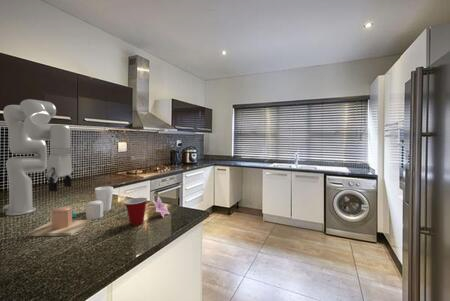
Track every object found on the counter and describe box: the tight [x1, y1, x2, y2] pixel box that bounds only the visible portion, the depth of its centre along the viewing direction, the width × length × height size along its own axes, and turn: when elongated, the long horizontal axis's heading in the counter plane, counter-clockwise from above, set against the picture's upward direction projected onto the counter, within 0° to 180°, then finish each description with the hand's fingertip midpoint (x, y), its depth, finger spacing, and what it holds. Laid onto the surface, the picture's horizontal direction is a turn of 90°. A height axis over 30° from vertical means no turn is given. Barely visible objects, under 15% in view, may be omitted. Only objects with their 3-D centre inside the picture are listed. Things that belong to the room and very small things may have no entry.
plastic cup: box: [123, 197, 148, 226], centre depth 108 cm, size 11×11×12 cm
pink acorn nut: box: [50, 206, 73, 229], centre depth 101 cm, size 7×7×8 cm
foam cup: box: [94, 186, 114, 212], centre depth 129 cm, size 10×9×13 cm
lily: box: [152, 196, 170, 219], centre depth 120 cm, size 12×12×10 cm
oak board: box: [26, 219, 92, 237], centre depth 101 cm, size 18×16×1 cm
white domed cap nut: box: [85, 200, 104, 221], centre depth 116 cm, size 7×7×8 cm
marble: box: [72, 210, 77, 219], centre depth 115 cm, size 3×3×3 cm
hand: (60, 188), depth 100 cm, fingers open, 9 cm apart
